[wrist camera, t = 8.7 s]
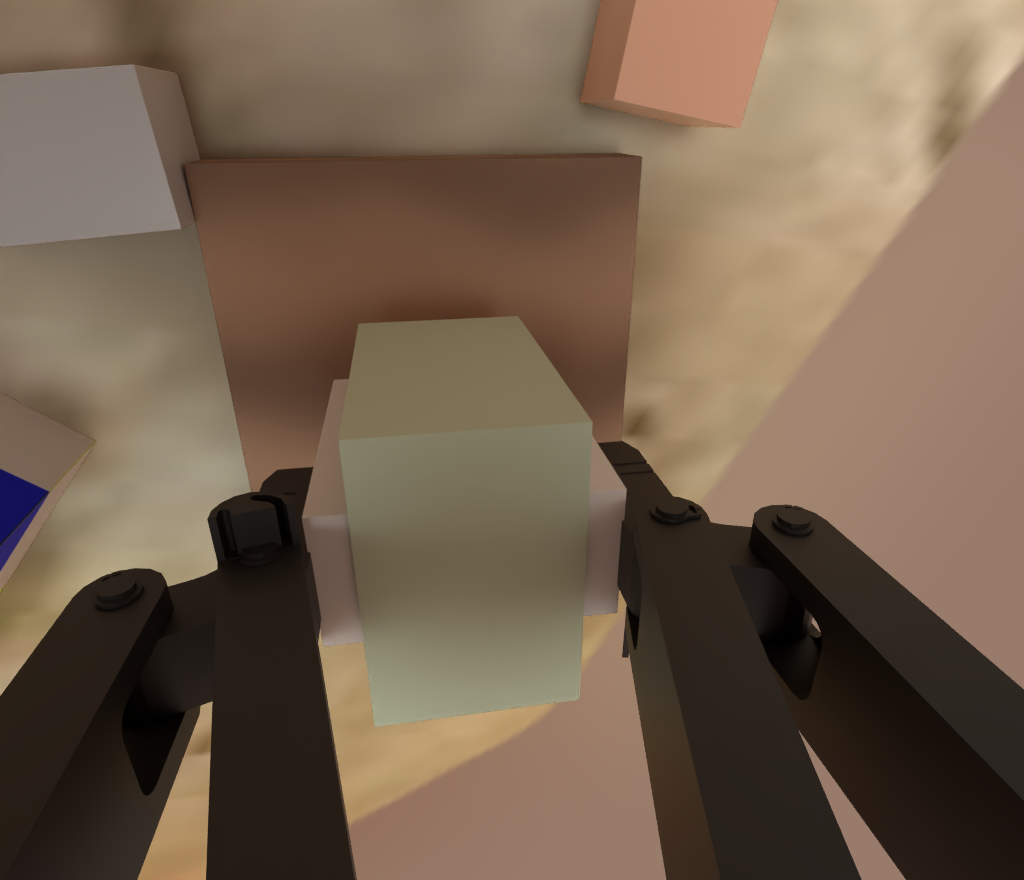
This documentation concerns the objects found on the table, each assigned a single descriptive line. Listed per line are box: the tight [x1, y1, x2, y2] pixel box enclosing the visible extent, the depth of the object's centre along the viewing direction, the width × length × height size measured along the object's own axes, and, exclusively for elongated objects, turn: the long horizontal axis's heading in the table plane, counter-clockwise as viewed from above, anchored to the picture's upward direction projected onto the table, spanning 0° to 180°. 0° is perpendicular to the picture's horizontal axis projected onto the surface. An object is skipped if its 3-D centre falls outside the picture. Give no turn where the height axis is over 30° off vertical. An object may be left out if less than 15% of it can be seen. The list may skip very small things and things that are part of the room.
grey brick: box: [0, 64, 200, 247], centre depth 17 cm, size 6×4×4 cm, turn 95°
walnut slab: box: [184, 153, 642, 492], centre depth 21 cm, size 12×12×2 cm
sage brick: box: [338, 316, 593, 727], centre depth 15 cm, size 6×4×7 cm, turn 0°
